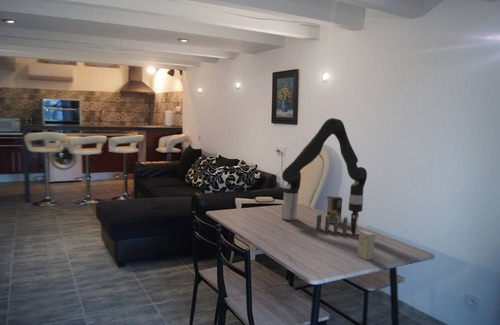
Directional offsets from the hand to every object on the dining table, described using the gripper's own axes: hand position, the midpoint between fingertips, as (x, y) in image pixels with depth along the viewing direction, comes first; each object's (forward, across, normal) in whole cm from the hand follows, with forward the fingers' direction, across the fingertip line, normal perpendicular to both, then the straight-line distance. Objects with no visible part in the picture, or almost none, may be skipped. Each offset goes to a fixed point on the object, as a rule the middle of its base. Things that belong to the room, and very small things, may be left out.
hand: (353, 230), depth 220 cm
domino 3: (+2, 0, -10) cm, 10 cm away
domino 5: (+2, 0, 0) cm, 2 cm away
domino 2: (+2, 0, -15) cm, 15 cm away
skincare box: (+3, +37, +9) cm, 38 cm away
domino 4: (+2, 0, -5) cm, 6 cm away
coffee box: (+3, -23, -15) cm, 28 cm away
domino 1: (+2, 0, -20) cm, 20 cm away
